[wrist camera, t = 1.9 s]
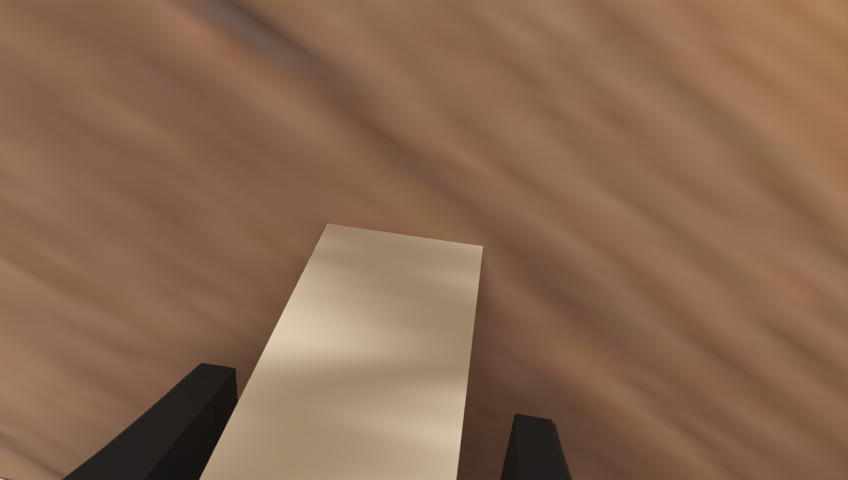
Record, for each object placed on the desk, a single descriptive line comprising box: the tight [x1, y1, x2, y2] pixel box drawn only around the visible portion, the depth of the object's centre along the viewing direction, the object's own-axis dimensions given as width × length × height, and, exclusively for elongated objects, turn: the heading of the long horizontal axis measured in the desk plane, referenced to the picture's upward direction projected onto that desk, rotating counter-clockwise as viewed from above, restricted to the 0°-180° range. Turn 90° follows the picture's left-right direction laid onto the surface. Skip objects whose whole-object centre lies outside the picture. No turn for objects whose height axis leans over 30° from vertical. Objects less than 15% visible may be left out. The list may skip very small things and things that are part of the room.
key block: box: [199, 224, 483, 480], centre depth 12 cm, size 3×5×7 cm, turn 175°
